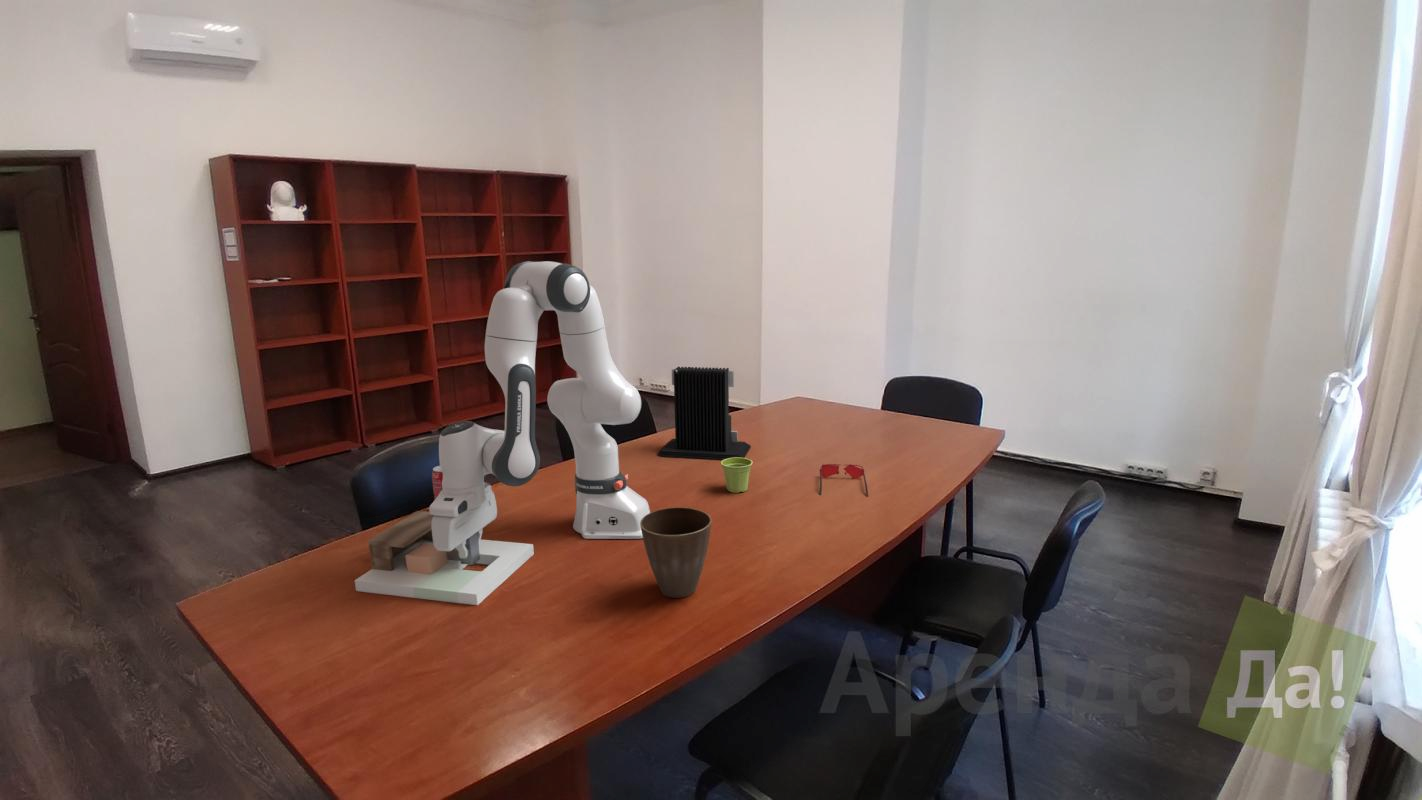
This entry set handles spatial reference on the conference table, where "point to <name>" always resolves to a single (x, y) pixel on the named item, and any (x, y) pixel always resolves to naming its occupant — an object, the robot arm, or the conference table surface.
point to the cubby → (399, 539)
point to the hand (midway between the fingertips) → (470, 552)
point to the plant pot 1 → (676, 547)
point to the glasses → (833, 469)
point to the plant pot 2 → (736, 473)
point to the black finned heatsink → (703, 416)
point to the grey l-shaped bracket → (470, 544)
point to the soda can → (437, 480)
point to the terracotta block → (425, 559)
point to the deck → (449, 575)
